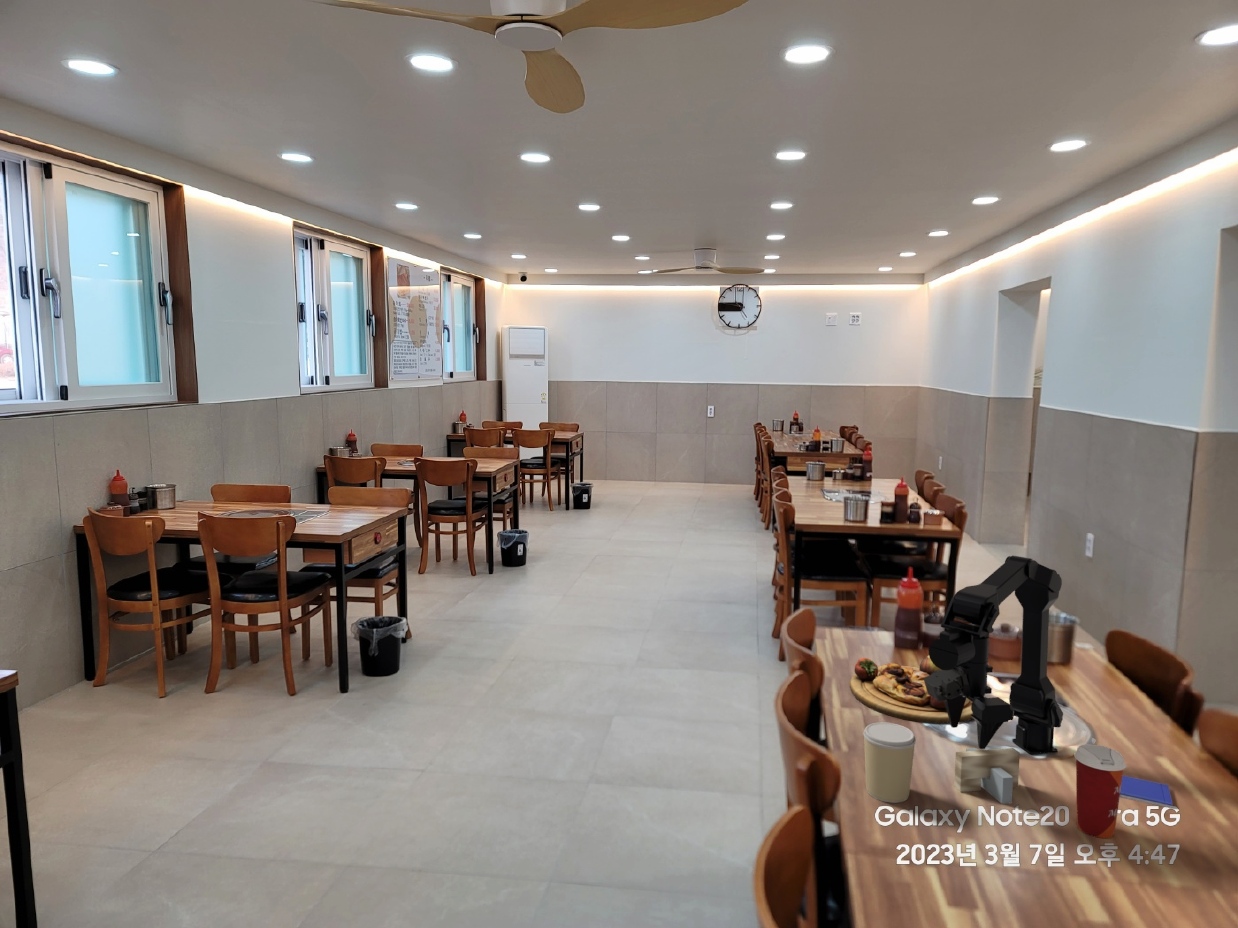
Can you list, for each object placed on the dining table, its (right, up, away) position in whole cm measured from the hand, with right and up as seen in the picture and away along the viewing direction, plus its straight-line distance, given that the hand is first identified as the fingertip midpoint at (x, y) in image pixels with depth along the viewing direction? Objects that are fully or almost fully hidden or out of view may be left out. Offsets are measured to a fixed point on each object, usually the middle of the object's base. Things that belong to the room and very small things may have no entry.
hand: (967, 737), depth 151 cm
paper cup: (+17, -12, -13) cm, 24 cm away
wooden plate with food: (+8, -6, +46) cm, 47 cm away
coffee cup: (-15, -11, 0) cm, 19 cm away
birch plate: (+4, -10, +2) cm, 11 cm away
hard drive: (+32, -11, +1) cm, 34 cm away
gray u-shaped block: (+5, -10, +2) cm, 11 cm away
